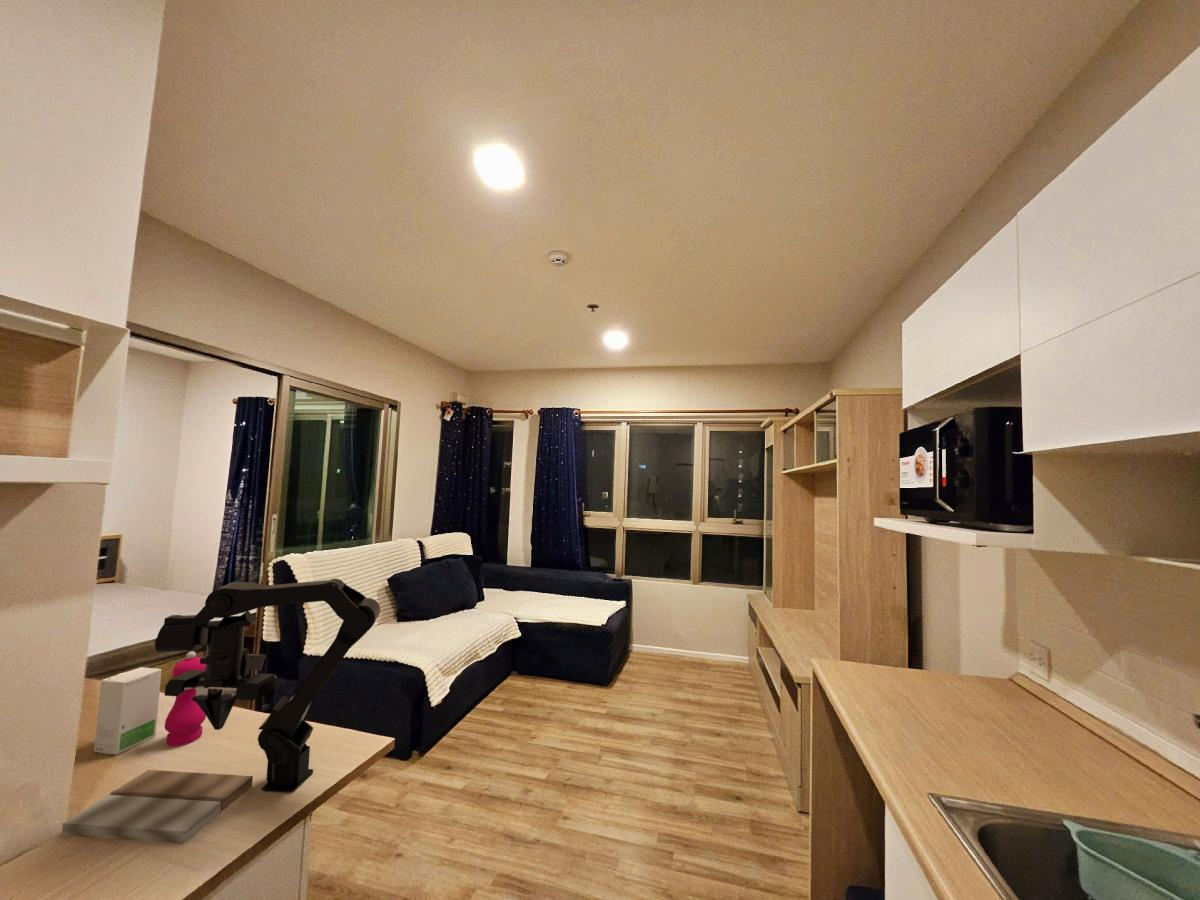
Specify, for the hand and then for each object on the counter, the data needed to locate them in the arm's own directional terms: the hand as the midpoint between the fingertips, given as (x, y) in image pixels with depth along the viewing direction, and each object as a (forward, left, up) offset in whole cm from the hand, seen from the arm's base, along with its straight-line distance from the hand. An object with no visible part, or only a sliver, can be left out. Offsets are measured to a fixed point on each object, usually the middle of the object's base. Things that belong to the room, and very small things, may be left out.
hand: (219, 728), depth 91 cm
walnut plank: (+5, +1, -12) cm, 13 cm away
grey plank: (+5, +9, -12) cm, 16 cm away
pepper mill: (+22, -16, -12) cm, 30 cm away
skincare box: (+33, -13, -12) cm, 38 cm away
